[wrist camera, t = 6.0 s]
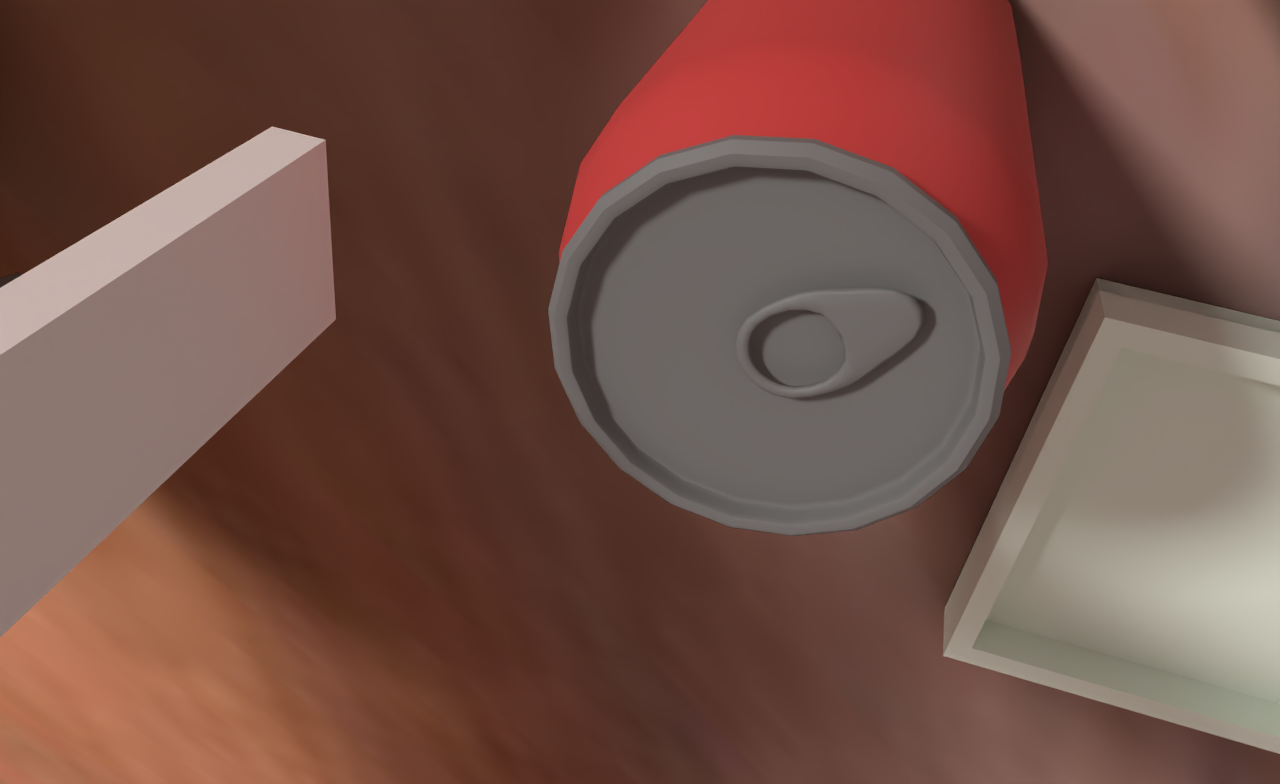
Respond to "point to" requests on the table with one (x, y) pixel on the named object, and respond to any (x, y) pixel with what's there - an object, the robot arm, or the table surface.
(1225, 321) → the tray
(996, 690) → the table surface
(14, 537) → the robot arm
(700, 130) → the beer can
